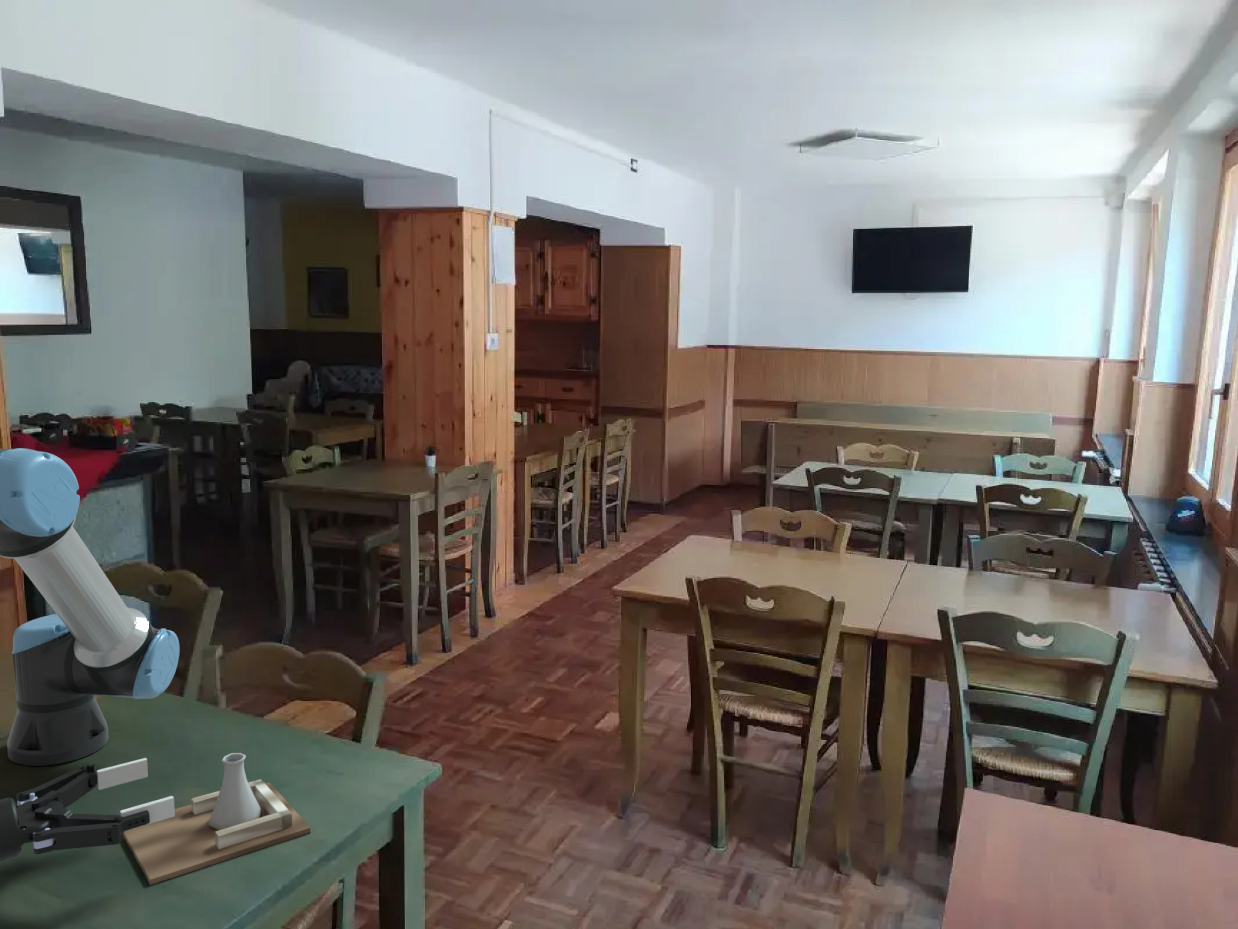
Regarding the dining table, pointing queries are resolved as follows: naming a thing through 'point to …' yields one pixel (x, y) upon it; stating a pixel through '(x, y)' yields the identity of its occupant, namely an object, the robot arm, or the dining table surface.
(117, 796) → the dining table surface
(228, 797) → the flask
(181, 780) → the dining table surface
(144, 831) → the nook board
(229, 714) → the dining table surface
